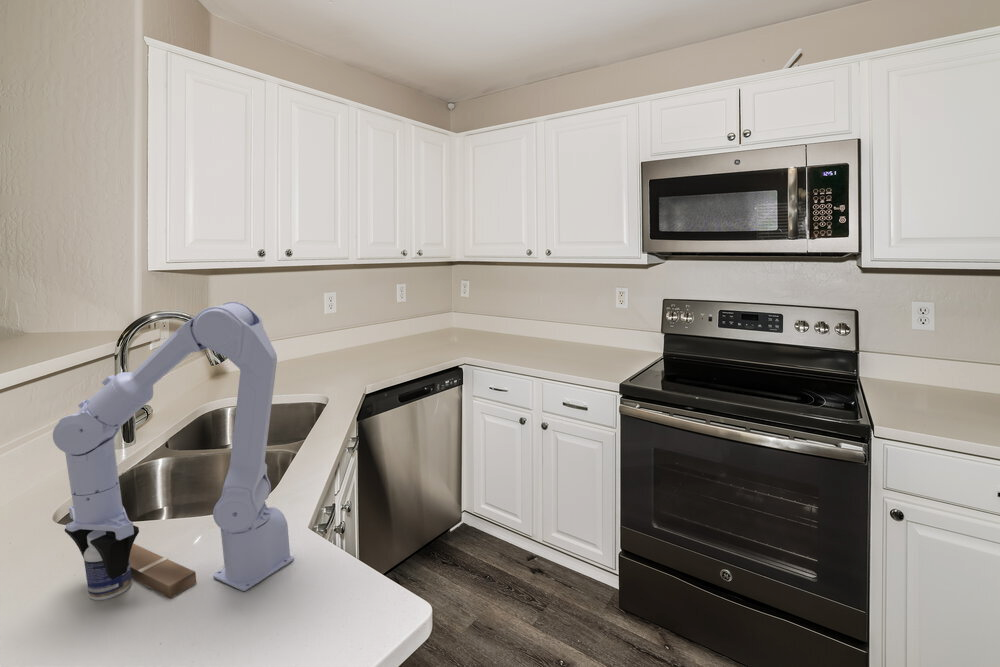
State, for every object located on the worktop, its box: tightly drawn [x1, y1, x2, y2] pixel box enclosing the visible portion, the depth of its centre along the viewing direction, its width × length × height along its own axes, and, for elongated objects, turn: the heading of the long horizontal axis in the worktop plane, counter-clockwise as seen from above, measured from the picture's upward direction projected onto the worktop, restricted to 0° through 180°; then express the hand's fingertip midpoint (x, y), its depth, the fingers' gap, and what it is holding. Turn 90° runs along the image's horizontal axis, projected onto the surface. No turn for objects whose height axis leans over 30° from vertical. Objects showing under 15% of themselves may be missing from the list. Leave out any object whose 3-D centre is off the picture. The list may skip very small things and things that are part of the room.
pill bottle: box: [83, 530, 133, 601], centre depth 78 cm, size 5×5×10 cm
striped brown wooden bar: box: [129, 543, 198, 599], centre depth 84 cm, size 4×24×2 cm, turn 62°
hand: (107, 569), depth 78 cm, fingers open, 6 cm apart
